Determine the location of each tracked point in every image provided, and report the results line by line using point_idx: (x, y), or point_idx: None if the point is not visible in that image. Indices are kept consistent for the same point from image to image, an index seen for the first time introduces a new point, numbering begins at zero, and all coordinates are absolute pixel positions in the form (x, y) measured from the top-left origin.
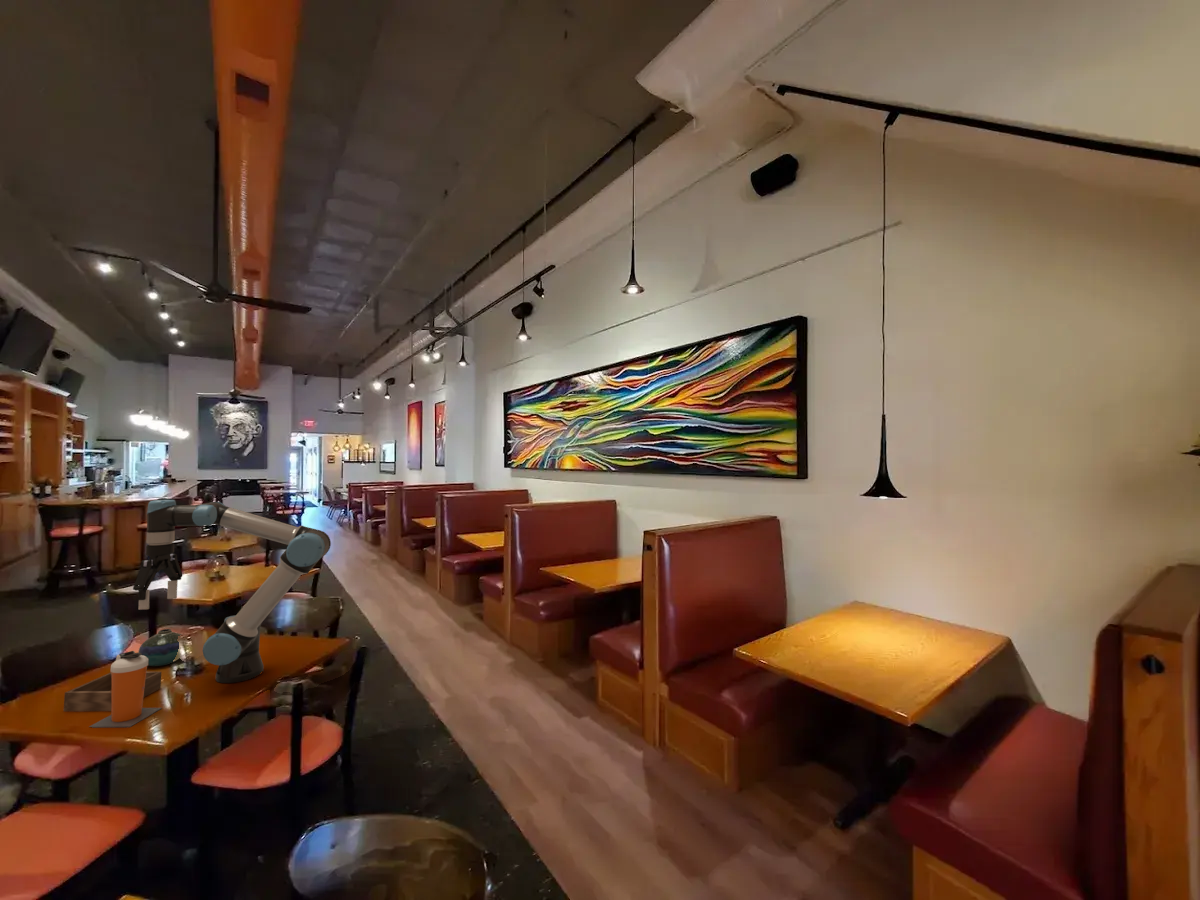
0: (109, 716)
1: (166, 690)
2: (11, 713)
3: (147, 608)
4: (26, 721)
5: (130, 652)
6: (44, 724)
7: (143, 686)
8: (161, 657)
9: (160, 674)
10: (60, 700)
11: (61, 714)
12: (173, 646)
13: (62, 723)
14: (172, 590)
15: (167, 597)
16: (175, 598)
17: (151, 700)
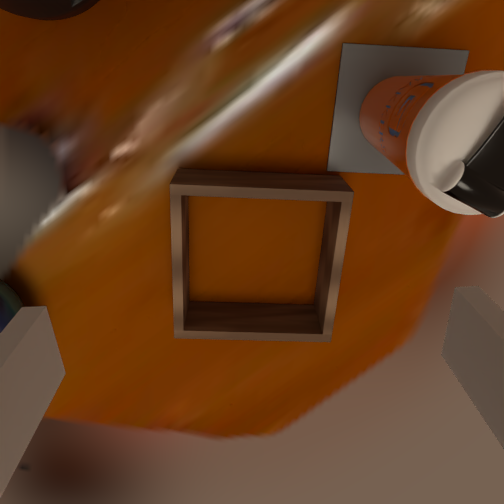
0: (381, 168)
1: (194, 136)
2: (316, 403)
3: (479, 290)
4: (365, 345)
5: (477, 178)
6: (391, 296)
7: (429, 76)
8: (10, 298)
9: (175, 181)
10: (253, 365)
11: (338, 303)
12: None
13: (394, 261)
14: (8, 404)
15: (58, 382)
16: (43, 307)
17: (271, 128)
